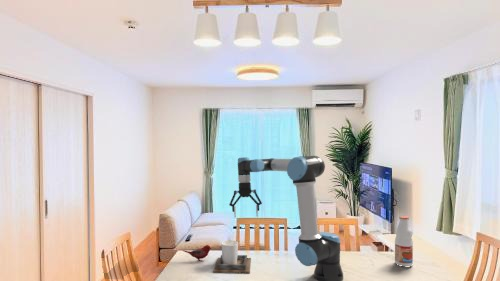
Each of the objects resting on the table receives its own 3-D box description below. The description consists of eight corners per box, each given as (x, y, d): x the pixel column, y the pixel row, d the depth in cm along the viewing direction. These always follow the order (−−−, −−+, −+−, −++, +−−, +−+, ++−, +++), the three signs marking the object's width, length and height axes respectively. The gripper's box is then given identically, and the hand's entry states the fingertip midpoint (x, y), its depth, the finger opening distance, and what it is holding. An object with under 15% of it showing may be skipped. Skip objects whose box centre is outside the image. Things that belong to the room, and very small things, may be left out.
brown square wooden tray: (250, 259, 200) (250, 253, 200) (249, 273, 180) (249, 267, 180) (218, 259, 201) (218, 253, 201) (213, 272, 181) (213, 266, 181)
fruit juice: (401, 260, 199) (401, 213, 198) (416, 265, 191) (416, 217, 190) (391, 263, 194) (391, 215, 193) (406, 269, 186) (406, 219, 185)
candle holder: (217, 264, 190) (217, 243, 190) (228, 259, 198) (228, 239, 198) (231, 268, 184) (231, 246, 184) (241, 262, 193) (241, 242, 192)
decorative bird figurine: (211, 262, 195) (211, 246, 195) (181, 261, 197) (181, 244, 197) (212, 261, 198) (212, 244, 198) (183, 259, 200) (183, 243, 200)
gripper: (264, 181, 211) (266, 215, 208) (225, 183, 211) (226, 216, 209) (264, 181, 203) (266, 216, 201) (224, 183, 204) (225, 218, 201)
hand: (246, 216), depth 205 cm, fingers open, 13 cm apart
